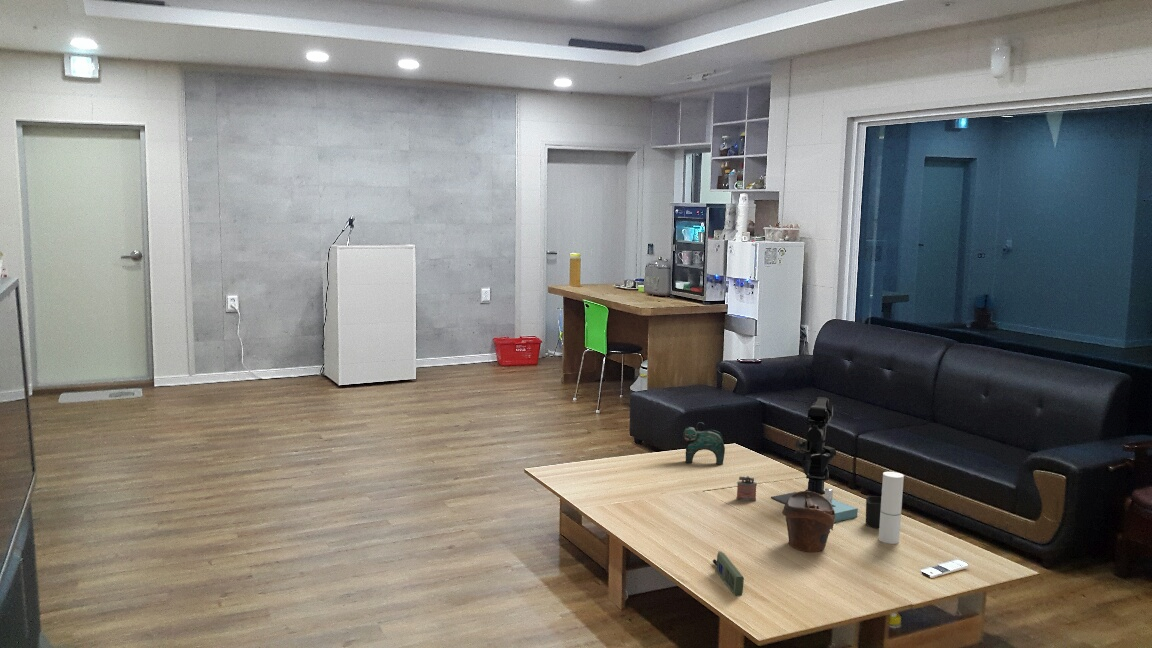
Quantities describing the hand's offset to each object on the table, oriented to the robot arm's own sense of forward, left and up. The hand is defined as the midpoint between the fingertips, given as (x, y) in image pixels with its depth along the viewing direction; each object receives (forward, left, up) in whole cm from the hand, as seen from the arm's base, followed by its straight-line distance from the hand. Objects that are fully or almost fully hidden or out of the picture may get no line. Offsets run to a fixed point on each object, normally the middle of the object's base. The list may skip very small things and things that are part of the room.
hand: (814, 473), depth 362 cm
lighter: (+24, -14, -12) cm, 30 cm away
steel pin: (+6, +14, -12) cm, 19 cm away
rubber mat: (+6, -4, -12) cm, 14 cm away
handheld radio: (+83, +44, -12) cm, 95 cm away
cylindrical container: (+7, +45, -12) cm, 47 cm away
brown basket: (+38, +35, -12) cm, 53 cm away
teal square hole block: (+6, +14, -12) cm, 19 cm away
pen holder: (-2, +32, -12) cm, 34 cm away
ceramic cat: (+6, -65, -12) cm, 66 cm away
